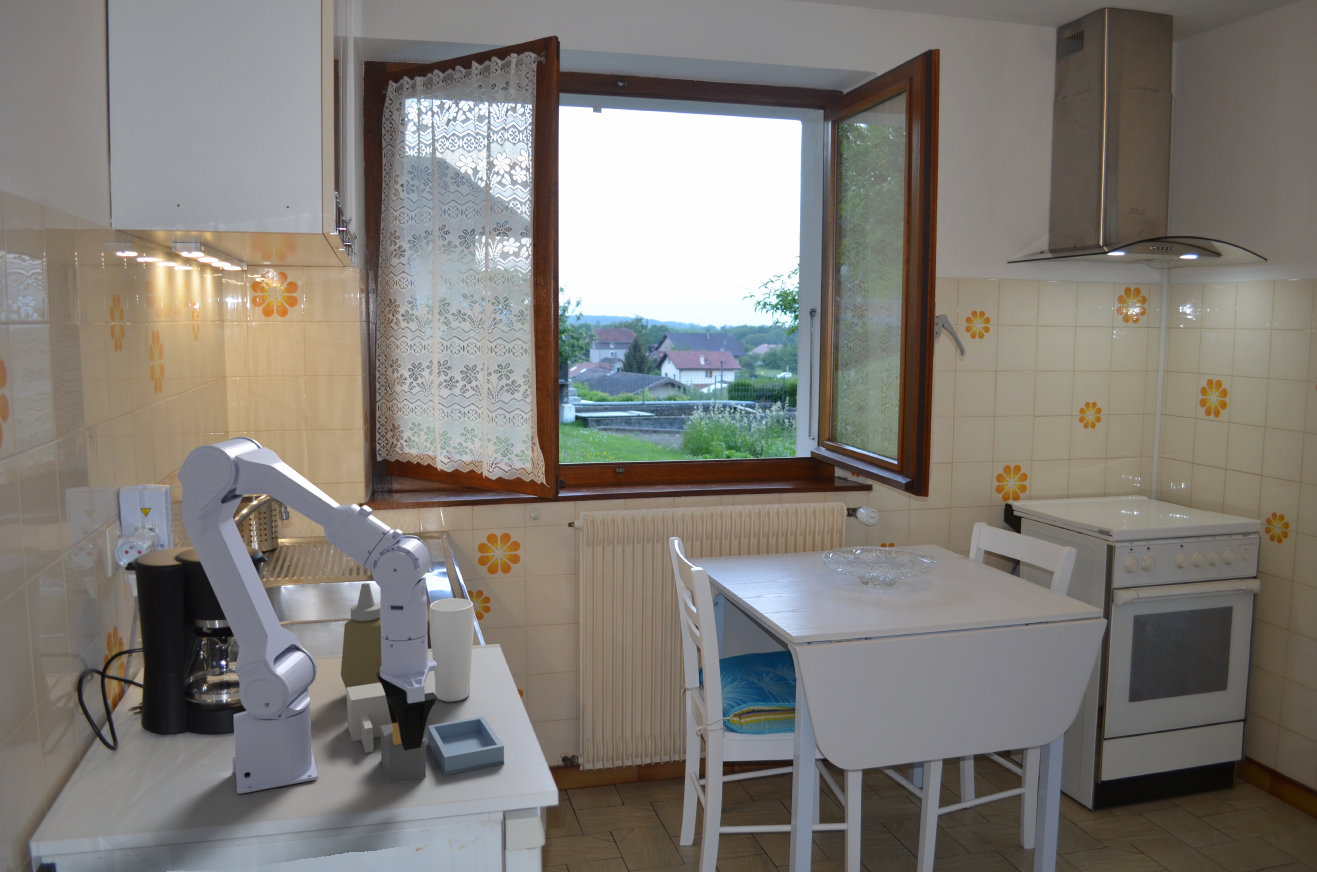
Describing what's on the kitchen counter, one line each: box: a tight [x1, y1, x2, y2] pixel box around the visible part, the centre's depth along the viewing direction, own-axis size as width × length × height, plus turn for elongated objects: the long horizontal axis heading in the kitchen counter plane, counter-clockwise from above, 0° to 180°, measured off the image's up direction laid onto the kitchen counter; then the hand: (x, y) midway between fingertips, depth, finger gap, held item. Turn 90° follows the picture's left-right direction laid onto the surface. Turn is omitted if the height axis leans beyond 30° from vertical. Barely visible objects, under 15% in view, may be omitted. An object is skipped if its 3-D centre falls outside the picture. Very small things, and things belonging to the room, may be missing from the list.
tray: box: [427, 715, 505, 776], centre depth 127 cm, size 8×10×2 cm
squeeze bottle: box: [340, 582, 382, 691], centre depth 146 cm, size 8×8×18 cm
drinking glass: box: [428, 597, 475, 703], centre depth 146 cm, size 7×7×15 cm
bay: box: [346, 683, 392, 754], centre depth 133 cm, size 10×10×6 cm
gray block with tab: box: [380, 722, 427, 785], centre depth 122 cm, size 7×4×8 cm, turn 26°
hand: (406, 735), depth 120 cm, fingers open, 7 cm apart
